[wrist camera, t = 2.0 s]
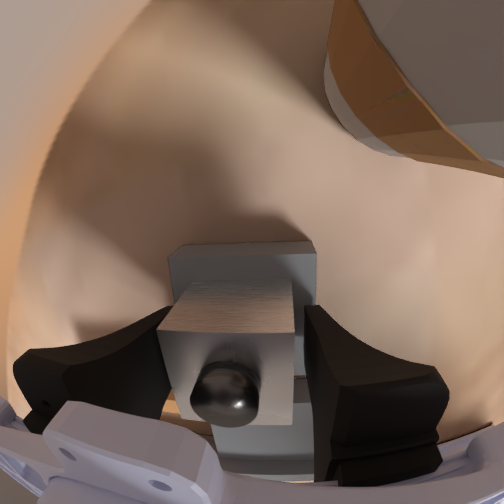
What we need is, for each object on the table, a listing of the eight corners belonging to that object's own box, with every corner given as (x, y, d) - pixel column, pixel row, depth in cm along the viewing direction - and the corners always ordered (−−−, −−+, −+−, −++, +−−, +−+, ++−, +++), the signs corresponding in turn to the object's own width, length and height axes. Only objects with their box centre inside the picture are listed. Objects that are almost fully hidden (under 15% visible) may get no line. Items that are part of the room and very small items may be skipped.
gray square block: (311, 240, 13) (316, 253, 11) (309, 351, 15) (311, 374, 13) (182, 245, 14) (167, 257, 12) (198, 350, 15) (189, 372, 13)
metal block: (291, 278, 11) (296, 354, 7) (291, 359, 13) (291, 446, 8) (192, 280, 12) (142, 348, 7) (205, 358, 13) (174, 438, 8)
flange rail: (377, 360, 14) (392, 397, 11) (355, 441, 17) (361, 475, 14) (107, 353, 16) (83, 382, 13) (140, 431, 18) (126, 459, 15)
